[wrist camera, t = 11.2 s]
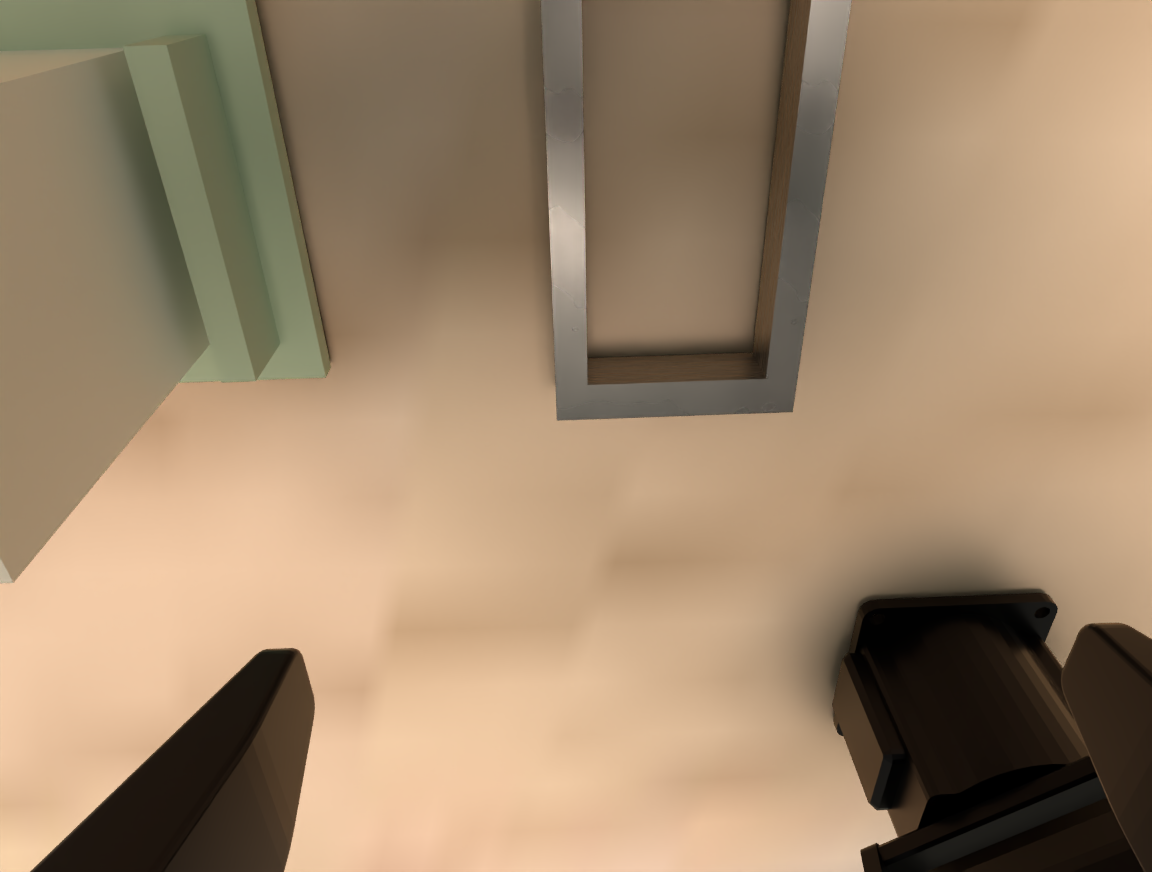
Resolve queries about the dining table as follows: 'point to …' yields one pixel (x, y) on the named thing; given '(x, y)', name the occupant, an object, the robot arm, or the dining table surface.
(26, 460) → the long rectangular block
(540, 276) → the dining table surface
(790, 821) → the dining table surface
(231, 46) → the holder
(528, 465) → the dining table surface
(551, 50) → the frame
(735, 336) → the dining table surface
